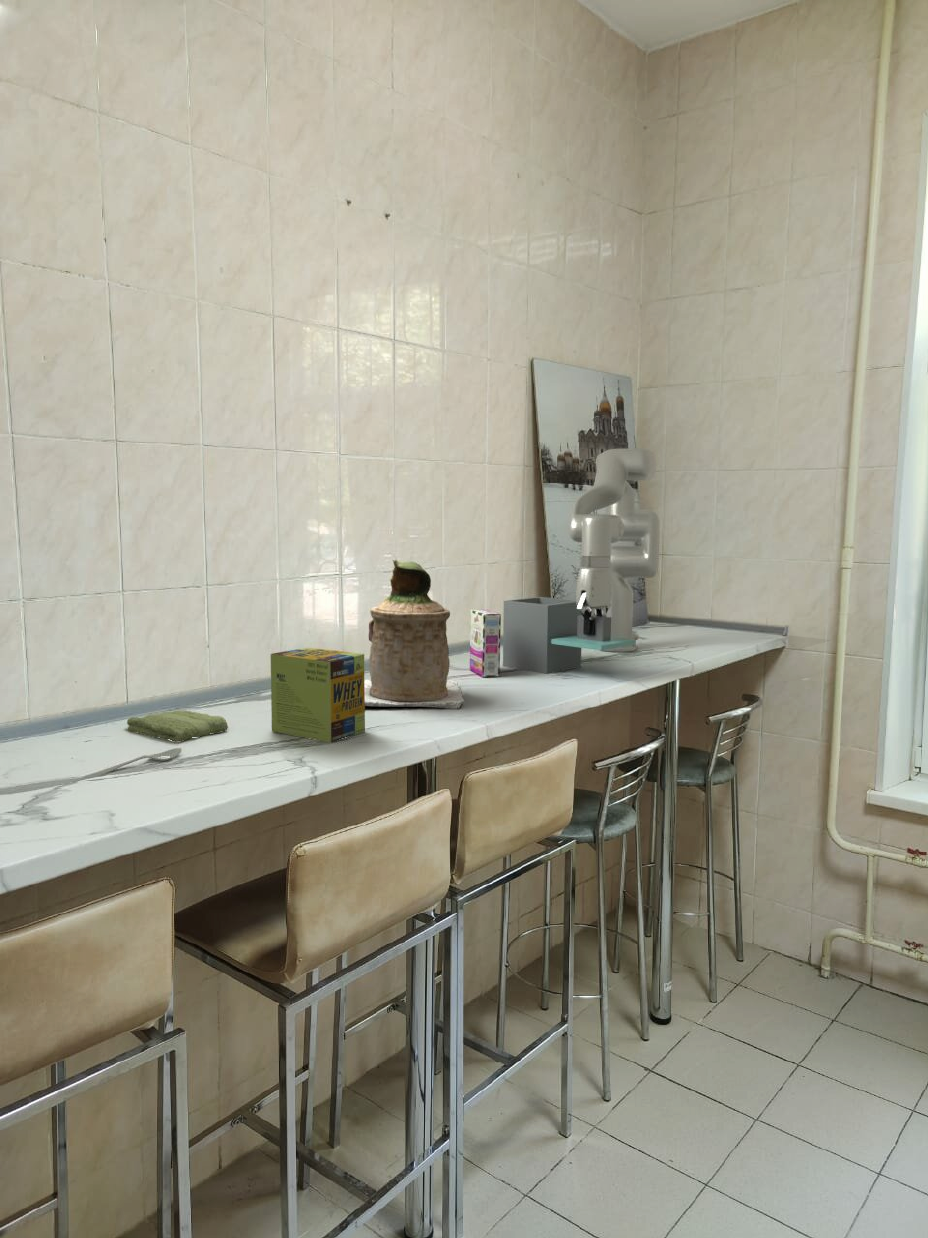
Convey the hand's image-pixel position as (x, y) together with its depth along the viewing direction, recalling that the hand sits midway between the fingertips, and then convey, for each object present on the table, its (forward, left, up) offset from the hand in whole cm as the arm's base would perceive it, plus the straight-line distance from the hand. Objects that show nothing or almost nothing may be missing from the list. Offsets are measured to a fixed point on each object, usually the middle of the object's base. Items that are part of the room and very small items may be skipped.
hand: (593, 633), depth 231 cm
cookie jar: (+52, -14, -11) cm, 55 cm away
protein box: (+86, -4, -11) cm, 87 cm away
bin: (0, -17, -11) cm, 20 cm away
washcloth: (+104, -25, -12) cm, 108 cm away
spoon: (+123, -8, -12) cm, 124 cm away
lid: (0, 0, -3) cm, 3 cm away
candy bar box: (+19, -21, -11) cm, 30 cm away
